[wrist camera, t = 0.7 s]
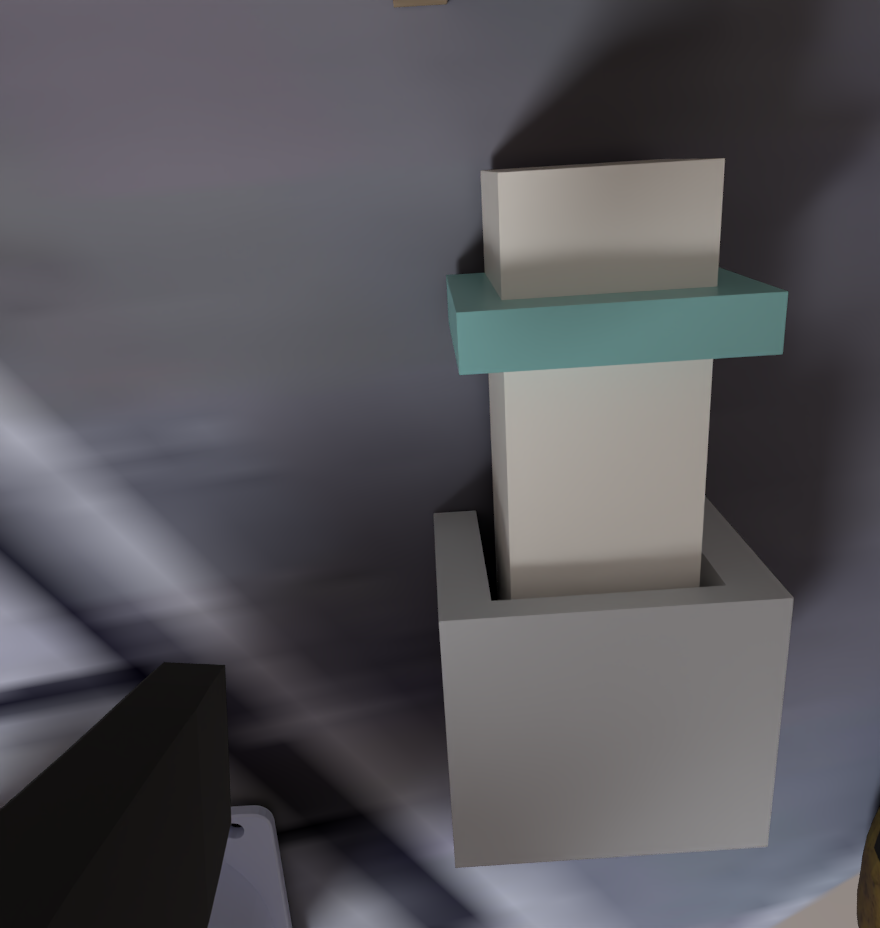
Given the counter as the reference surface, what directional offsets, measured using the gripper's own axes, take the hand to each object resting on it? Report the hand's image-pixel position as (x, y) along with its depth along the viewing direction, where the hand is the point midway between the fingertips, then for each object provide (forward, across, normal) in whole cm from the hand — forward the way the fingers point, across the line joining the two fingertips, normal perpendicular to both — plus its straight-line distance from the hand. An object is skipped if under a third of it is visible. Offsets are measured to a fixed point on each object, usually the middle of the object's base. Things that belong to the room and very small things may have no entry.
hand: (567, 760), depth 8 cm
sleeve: (+11, -2, +4) cm, 12 cm away
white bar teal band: (+11, -2, 0) cm, 11 cm away
